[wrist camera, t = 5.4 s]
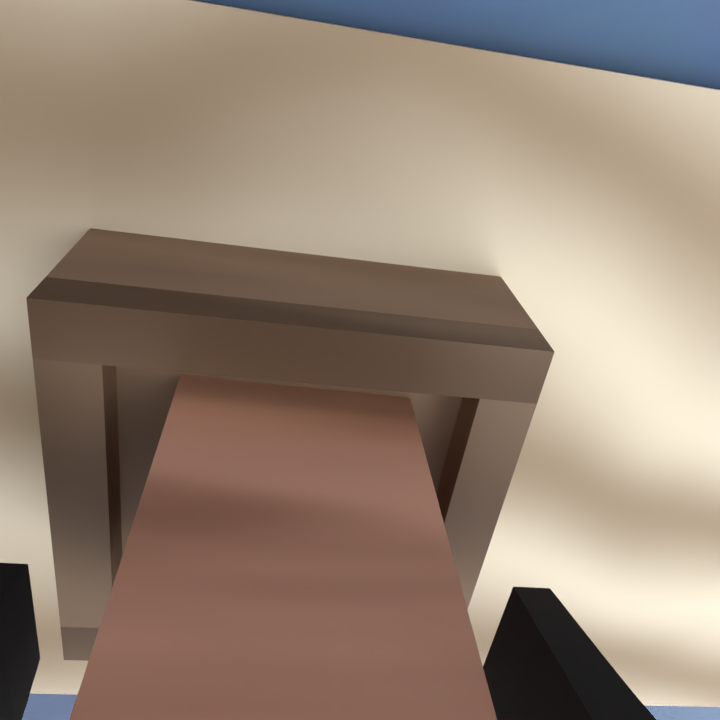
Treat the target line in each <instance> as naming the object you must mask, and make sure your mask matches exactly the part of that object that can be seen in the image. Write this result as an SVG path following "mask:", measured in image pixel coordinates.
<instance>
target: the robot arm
mask: <svg viewBox="0 0 720 720" xmlns="http://www.w3.org/2000/svg"><path fill="white" fill-rule="evenodd" d="M39 661H40V652H39V644H38V636H37V629H36V621H35V613H34V606H33V598H32V590H31V583H30V575H29V567H28V564H18V563H0V720H22V717H23V713H24V710H25V707H26V704H27V701H28V698H29V694H30V691H31V688H32V684H33V681H34V678H35V674H36V671H37V668H38V664H39ZM483 669H484V673H485V677H486V681H487V684H488V688H489V692H490V695H491V699H492V703H493V706H494V710H495V714H496V718H497V720H656V719H655V718H654V717H653V715H652V714H651V713H650V712H649V711H648V709H647V708H646V707H645V706H644V705H643V704H642V702H641V701H640V700H639V699H638V698H637V696H636V695H635V694H634V693H633V692H632V690H631V689H630V688H629V687H628V685H627V684H626V683H625V682H624V681H623V679H622V678H621V677H620V676H619V674H618V673H617V672H616V671H615V669H614V668H613V667H612V666H611V664H610V663H609V662H608V661H607V659H606V658H605V657H604V656H603V654H602V653H601V652H600V651H599V649H598V648H597V647H596V646H595V644H594V643H593V642H592V641H591V639H590V638H589V637H588V636H587V634H586V633H585V632H584V630H583V629H582V628H581V627H580V625H579V624H578V623H577V622H576V620H575V619H574V618H573V617H572V615H571V614H570V613H569V611H568V610H567V609H566V608H565V606H564V605H563V604H562V603H561V601H560V600H559V599H558V598H557V596H556V595H555V594H554V593H553V591H552V590H551V589H550V588H534V587H513V588H512V591H511V594H510V596H509V599H508V602H507V604H506V607H505V610H504V612H503V615H502V618H501V620H500V623H499V625H498V628H497V631H496V633H495V636H494V639H493V641H492V644H491V647H490V649H489V652H488V655H487V657H486V660H485V663H484V665H483Z"/></svg>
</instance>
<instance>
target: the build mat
mask: <svg viewBox="0 0 720 720" xmlns="http://www.w3.org/2000/svg"><path fill="white" fill-rule="evenodd" d="M180 375H188V376H198V377H208V378H218V379H228V380H238V381H248V382H257V383H267V384H277V385H287V386H297V387H307V388H317V389H327V390H337V391H347V392H357V393H367V394H377V395H387V396H397V397H407V398H410V400H411V403H412V407H413V411H414V414H415V418H416V422H417V425H418V429H419V433H420V437H421V440H422V444H423V448H424V451H425V455H426V459H427V462H428V466H429V470H430V474H431V477H432V481H433V485H434V488H435V492H436V496H437V499H438V503H439V507H440V510H441V514H442V518H443V522H444V525H445V529H446V533H447V536H448V540H449V544H450V547H451V551H452V555H453V559H454V562H455V566H456V570H457V573H458V577H459V581H460V584H461V588H462V592H463V596H464V599H465V603H466V607H467V610H468V614H469V618H470V621H471V625H472V629H473V633H474V636H475V640H476V644H477V647H478V651H479V655H480V658H481V662H482V666H483V665H484V663H485V660H486V657H487V655H488V652H489V649H490V647H491V644H492V641H493V639H494V636H495V633H496V631H497V628H498V625H499V623H500V620H501V618H502V615H503V612H504V610H505V607H506V604H507V602H508V599H509V596H510V594H511V591H512V588H513V587H534V588H550V589H551V590H552V591H553V593H554V594H555V595H556V596H557V598H558V599H559V600H560V601H561V603H562V604H563V605H564V606H565V608H566V609H567V610H568V611H569V613H570V614H571V615H572V617H573V618H574V619H575V620H576V622H577V623H578V624H579V625H580V627H581V628H582V629H583V630H584V632H585V633H586V634H587V636H588V637H589V638H590V639H591V641H592V642H593V643H594V644H595V646H596V647H597V648H598V649H599V651H600V652H601V653H602V654H603V656H604V657H605V658H606V659H607V661H608V662H609V663H610V664H611V666H612V667H613V668H614V669H615V671H616V672H617V673H618V674H619V676H620V677H621V678H622V679H623V681H624V682H625V683H626V684H627V685H628V687H629V688H630V689H631V690H632V692H633V693H634V694H635V695H636V696H637V698H638V699H639V700H640V701H641V702H642V704H643V705H650V706H701V707H720V90H719V89H714V88H708V87H702V86H696V85H690V84H684V83H678V82H672V81H666V80H661V79H655V78H649V77H643V76H637V75H631V74H625V73H619V72H614V71H608V70H602V69H596V68H590V67H584V66H578V65H572V64H567V63H561V62H555V61H549V60H543V59H537V58H531V57H525V56H520V55H514V54H508V53H502V52H496V51H490V50H484V49H478V48H473V47H467V46H461V45H455V44H449V43H443V42H437V41H431V40H425V39H420V38H414V37H408V36H402V35H396V34H390V33H384V32H378V31H373V30H367V29H361V28H355V27H349V26H343V25H337V24H331V23H326V22H320V21H314V20H308V19H302V18H296V17H290V16H284V15H279V14H273V13H267V12H261V11H255V10H249V9H243V8H237V7H231V6H226V5H220V4H214V3H208V2H202V1H196V0H0V563H18V564H28V567H29V575H30V583H31V590H32V598H33V606H34V613H35V621H36V629H37V636H38V644H39V652H40V661H39V664H38V668H37V671H36V674H35V678H34V681H33V684H32V688H31V691H30V693H34V694H78V692H79V689H80V686H81V683H82V680H83V677H84V673H85V670H86V667H87V664H88V661H89V658H90V655H91V652H92V649H93V645H94V642H95V639H96V636H97V633H98V630H99V627H100V624H101V621H102V618H103V614H104V611H105V608H106V605H107V602H108V599H109V596H110V593H111V590H112V586H113V583H114V580H115V577H116V574H117V571H118V568H119V565H120V562H121V558H122V555H123V552H124V549H125V546H126V543H127V540H128V537H129V534H130V530H131V527H132V524H133V521H134V518H135V515H136V512H137V509H138V506H139V502H140V499H141V496H142V493H143V490H144V487H145V484H146V481H147V478H148V474H149V471H150V468H151V465H152V462H153V459H154V456H155V453H156V450H157V446H158V443H159V440H160V437H161V434H162V431H163V428H164V425H165V422H166V419H167V415H168V412H169V409H170V406H171V403H172V400H173V397H174V394H175V391H176V387H177V384H178V381H179V378H180Z"/></svg>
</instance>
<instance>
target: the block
mask: <svg viewBox="0 0 720 720" xmlns="http://www.w3.org/2000/svg"><path fill="white" fill-rule="evenodd" d="M70 720H497V718H496V714H495V710H494V706H493V703H492V699H491V695H490V692H489V688H488V684H487V681H486V677H485V673H484V669H483V666H482V662H481V658H480V655H479V651H478V647H477V644H476V640H475V636H474V633H473V629H472V625H471V621H470V618H469V614H468V610H467V607H466V603H465V599H464V596H463V592H462V588H461V584H460V581H459V577H458V573H457V570H456V566H455V562H454V559H453V555H452V551H451V547H450V544H449V540H448V536H447V533H446V529H445V525H444V522H443V518H442V514H441V510H440V507H439V503H438V499H437V496H436V492H435V488H434V485H433V481H432V477H431V474H430V470H429V466H428V462H427V459H426V455H425V451H424V448H423V444H422V440H421V437H420V433H419V429H418V425H417V422H416V418H415V414H414V411H413V407H412V403H411V400H410V398H407V397H397V396H387V395H377V394H367V393H357V392H347V391H337V390H327V389H317V388H307V387H297V386H287V385H277V384H267V383H257V382H248V381H238V380H228V379H218V378H208V377H198V376H188V375H180V378H179V381H178V384H177V387H176V391H175V394H174V397H173V400H172V403H171V406H170V409H169V412H168V415H167V419H166V422H165V425H164V428H163V431H162V434H161V437H160V440H159V443H158V446H157V450H156V453H155V456H154V459H153V462H152V465H151V468H150V471H149V474H148V478H147V481H146V484H145V487H144V490H143V493H142V496H141V499H140V502H139V506H138V509H137V512H136V515H135V518H134V521H133V524H132V527H131V530H130V534H129V537H128V540H127V543H126V546H125V549H124V552H123V555H122V558H121V562H120V565H119V568H118V571H117V574H116V577H115V580H114V583H113V586H112V590H111V593H110V596H109V599H108V602H107V605H106V608H105V611H104V614H103V618H102V621H101V624H100V627H99V630H98V633H97V636H96V639H95V642H94V645H93V649H92V652H91V655H90V658H89V661H88V664H87V667H86V670H85V673H84V677H83V680H82V683H81V686H80V689H79V692H78V695H77V698H76V701H75V705H74V708H73V711H72V714H71V717H70Z"/></svg>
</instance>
